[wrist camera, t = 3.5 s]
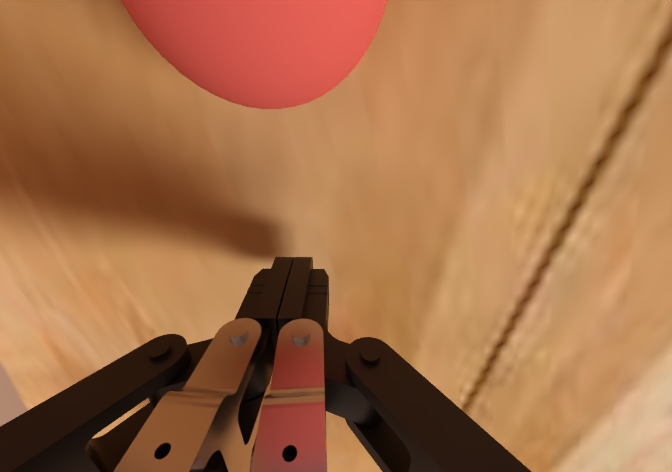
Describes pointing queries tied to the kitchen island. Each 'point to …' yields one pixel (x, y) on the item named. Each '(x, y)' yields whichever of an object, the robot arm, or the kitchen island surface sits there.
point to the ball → (261, 44)
